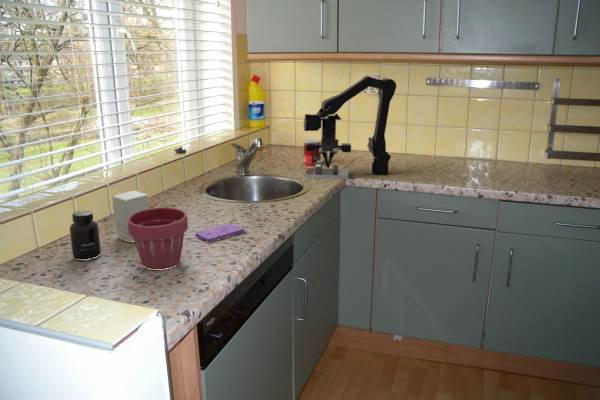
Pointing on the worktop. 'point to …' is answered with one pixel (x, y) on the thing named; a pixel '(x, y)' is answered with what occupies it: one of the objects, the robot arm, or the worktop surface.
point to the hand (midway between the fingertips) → (328, 167)
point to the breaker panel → (326, 172)
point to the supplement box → (127, 210)
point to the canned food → (311, 153)
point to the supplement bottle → (84, 235)
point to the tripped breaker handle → (335, 166)
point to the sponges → (219, 232)
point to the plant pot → (158, 235)
